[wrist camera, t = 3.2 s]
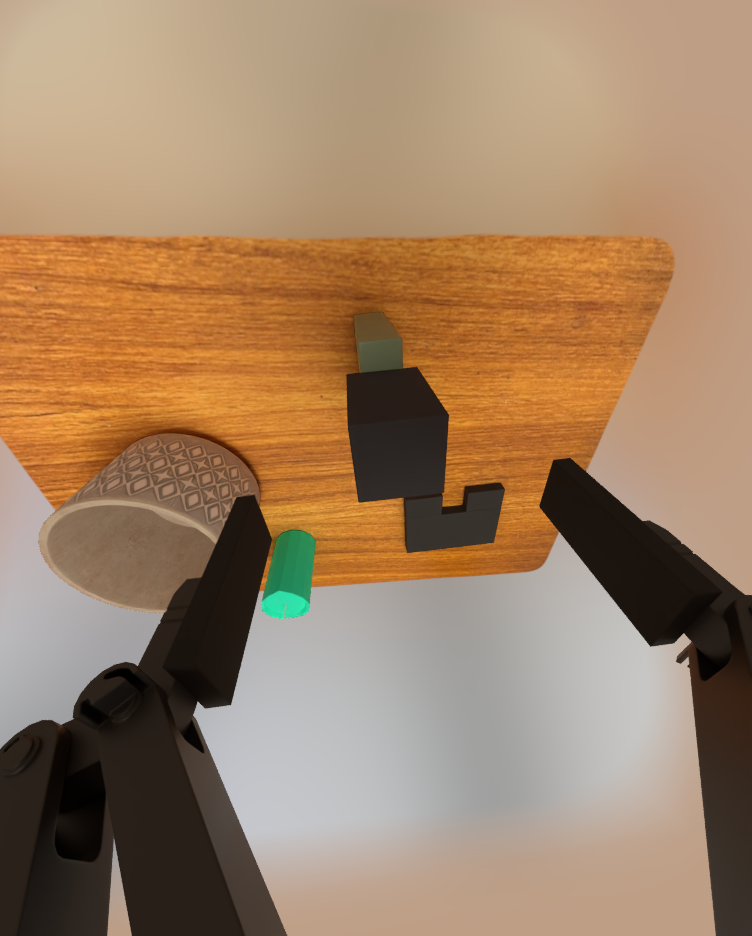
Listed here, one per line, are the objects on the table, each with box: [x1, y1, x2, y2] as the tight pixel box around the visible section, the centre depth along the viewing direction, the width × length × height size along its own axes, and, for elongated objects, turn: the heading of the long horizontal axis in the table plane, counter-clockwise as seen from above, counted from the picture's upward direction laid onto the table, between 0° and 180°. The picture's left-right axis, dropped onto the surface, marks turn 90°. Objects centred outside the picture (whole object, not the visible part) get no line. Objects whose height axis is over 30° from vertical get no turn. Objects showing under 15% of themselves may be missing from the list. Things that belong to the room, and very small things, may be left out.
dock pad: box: [404, 483, 505, 553], centre depth 46 cm, size 14×11×2 cm
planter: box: [39, 433, 260, 613], centre depth 35 cm, size 16×16×13 cm
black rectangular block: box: [347, 367, 449, 502], centre depth 21 cm, size 5×8×8 cm, turn 4°
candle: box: [262, 530, 315, 619], centre depth 43 cm, size 6×6×12 cm
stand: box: [353, 312, 403, 373], centre depth 28 cm, size 3×9×12 cm, turn 4°
